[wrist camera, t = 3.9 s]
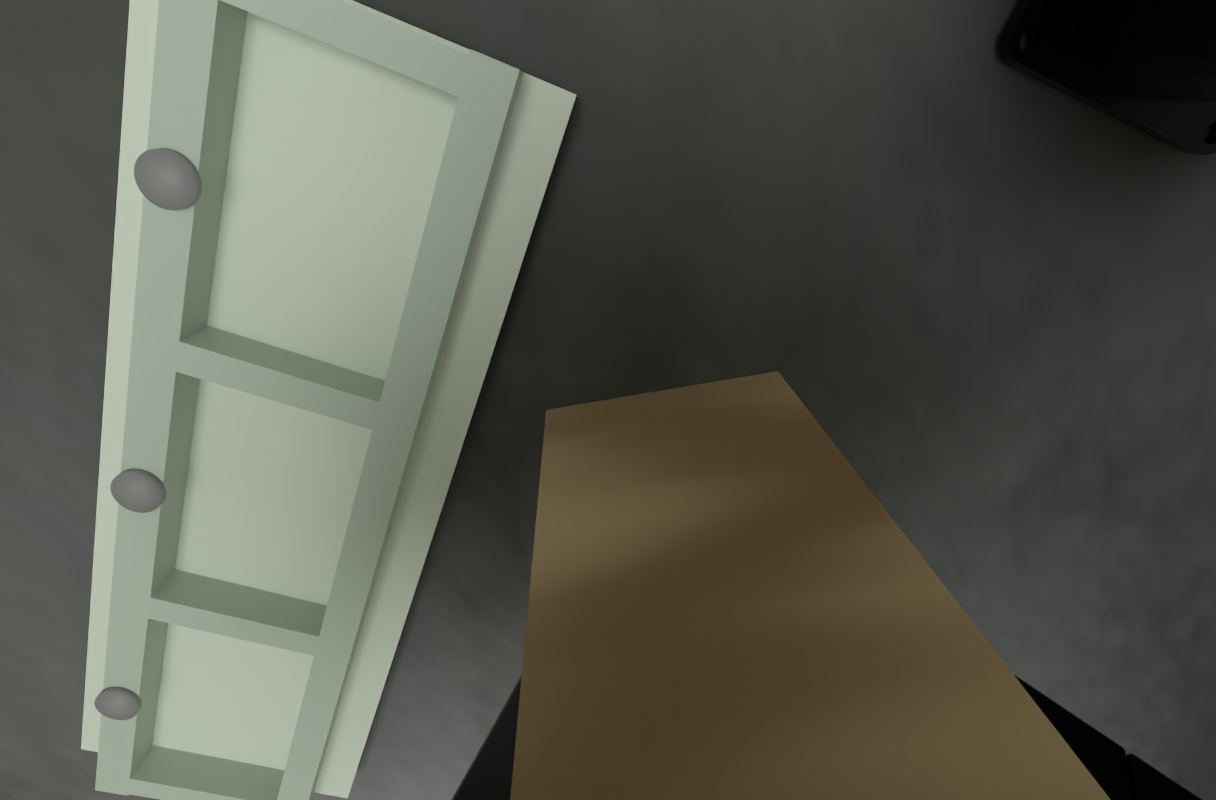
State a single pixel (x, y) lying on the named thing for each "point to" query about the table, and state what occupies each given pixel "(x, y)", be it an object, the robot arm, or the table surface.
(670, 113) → the table surface
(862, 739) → the tan rectangular box
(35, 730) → the table surface
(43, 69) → the table surface
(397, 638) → the rail board
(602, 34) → the table surface
